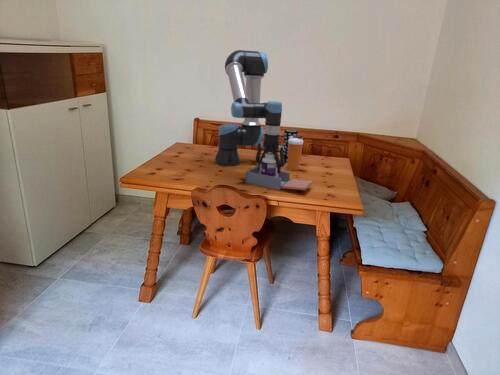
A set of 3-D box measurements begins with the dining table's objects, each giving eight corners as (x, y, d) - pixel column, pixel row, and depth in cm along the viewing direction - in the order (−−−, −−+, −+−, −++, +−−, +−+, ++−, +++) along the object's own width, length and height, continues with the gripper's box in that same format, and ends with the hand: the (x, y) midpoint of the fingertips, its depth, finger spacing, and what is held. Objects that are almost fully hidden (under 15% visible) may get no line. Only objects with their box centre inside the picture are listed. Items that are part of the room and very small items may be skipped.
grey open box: (245, 182, 179) (245, 171, 177) (256, 176, 190) (257, 166, 188) (279, 190, 171) (280, 178, 169) (288, 183, 182) (290, 172, 180)
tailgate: (280, 185, 170) (304, 188, 164) (290, 178, 181) (313, 180, 176) (280, 187, 170) (304, 190, 165) (290, 180, 182) (313, 182, 176)
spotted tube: (296, 161, 226) (299, 130, 219) (293, 164, 219) (296, 132, 212) (283, 159, 228) (286, 129, 222) (280, 162, 221) (283, 131, 214)
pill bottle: (259, 178, 183) (261, 151, 178) (274, 178, 184) (277, 151, 179) (261, 183, 176) (263, 155, 171) (277, 183, 176) (279, 155, 172)
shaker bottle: (300, 171, 204) (303, 137, 198) (284, 169, 206) (288, 136, 199) (300, 167, 213) (304, 135, 206) (286, 165, 214) (289, 133, 207)
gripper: (249, 131, 173) (247, 175, 180) (289, 137, 164) (284, 183, 172) (256, 129, 179) (253, 172, 187) (294, 135, 171) (290, 179, 178)
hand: (268, 177), depth 179 cm, fingers closed on pill bottle, 8 cm apart
